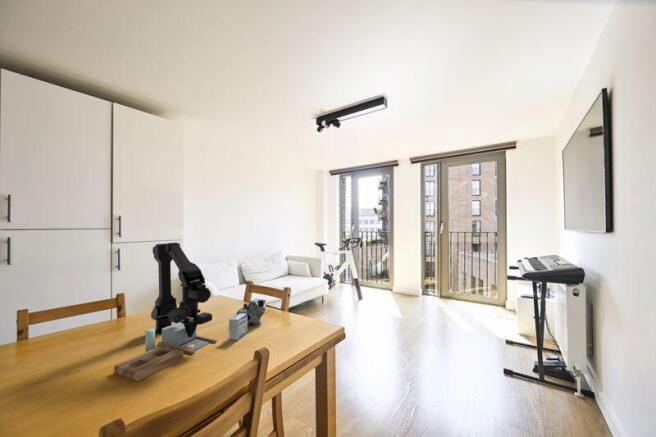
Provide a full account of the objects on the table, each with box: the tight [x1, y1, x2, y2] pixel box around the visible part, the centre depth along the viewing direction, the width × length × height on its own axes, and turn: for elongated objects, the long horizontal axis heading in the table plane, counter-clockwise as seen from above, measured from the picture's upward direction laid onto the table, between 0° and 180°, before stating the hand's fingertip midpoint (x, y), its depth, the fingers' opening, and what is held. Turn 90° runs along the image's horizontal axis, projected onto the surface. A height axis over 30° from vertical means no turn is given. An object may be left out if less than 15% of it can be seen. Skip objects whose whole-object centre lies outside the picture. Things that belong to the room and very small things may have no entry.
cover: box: [161, 322, 197, 347], centre depth 114 cm, size 9×9×6 cm
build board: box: [113, 345, 184, 382], centre depth 95 cm, size 12×16×2 cm
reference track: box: [157, 334, 217, 355], centre depth 112 cm, size 20×11×1 cm, turn 66°
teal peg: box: [144, 328, 156, 352], centre depth 103 cm, size 3×3×9 cm
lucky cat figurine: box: [234, 298, 267, 327], centre depth 135 cm, size 15×12×14 cm
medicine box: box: [228, 313, 248, 341], centre depth 119 cm, size 8×4×9 cm, turn 168°
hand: (190, 336), depth 111 cm, fingers closed
